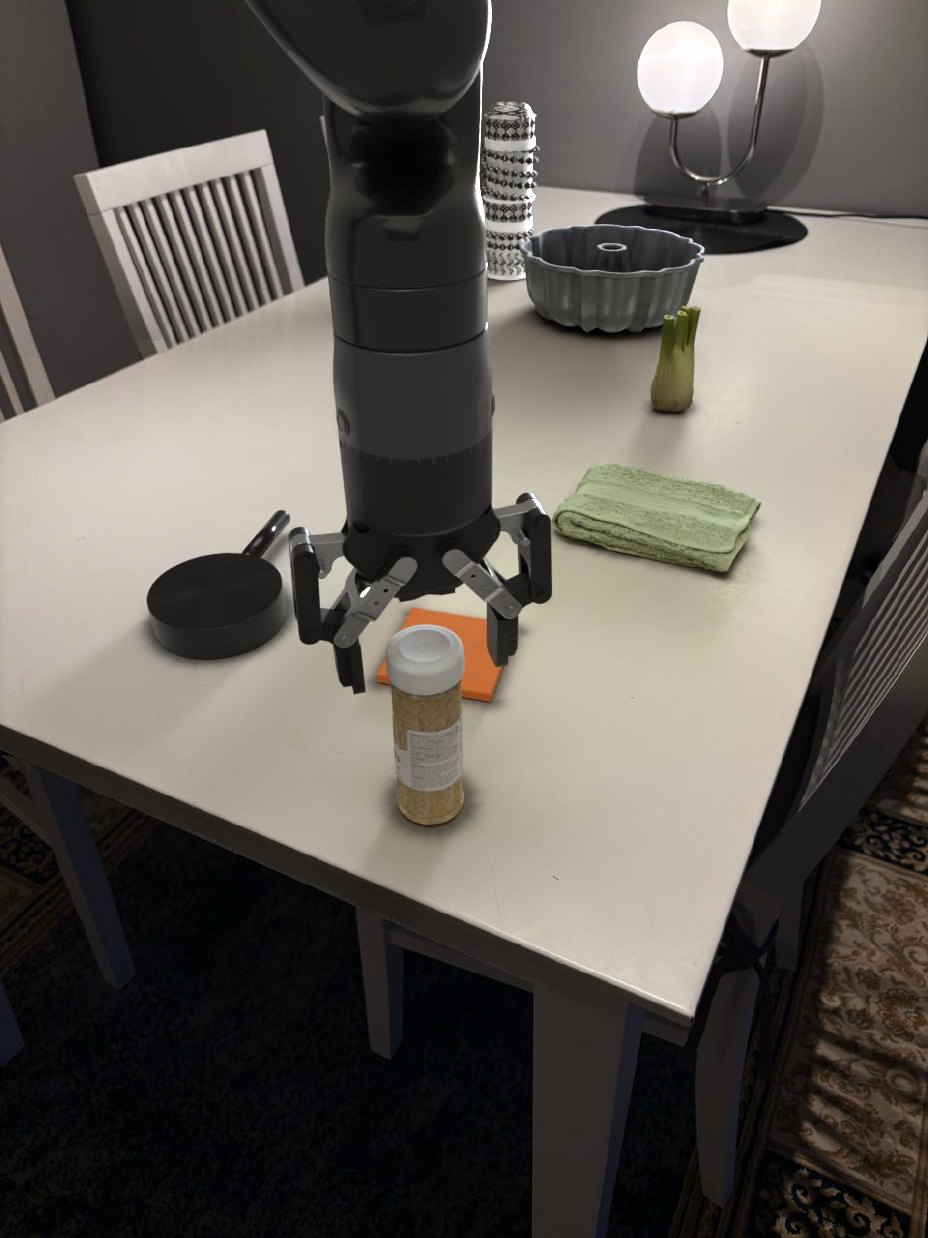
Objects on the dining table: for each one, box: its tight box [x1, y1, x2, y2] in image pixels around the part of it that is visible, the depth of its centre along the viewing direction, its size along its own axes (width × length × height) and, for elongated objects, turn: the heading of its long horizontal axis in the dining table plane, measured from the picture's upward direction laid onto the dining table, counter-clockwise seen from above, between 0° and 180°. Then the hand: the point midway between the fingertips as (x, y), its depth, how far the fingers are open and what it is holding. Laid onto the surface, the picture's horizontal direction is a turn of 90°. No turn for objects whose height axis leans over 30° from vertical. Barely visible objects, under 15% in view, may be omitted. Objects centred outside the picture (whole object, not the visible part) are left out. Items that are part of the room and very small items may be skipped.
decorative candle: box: [479, 101, 540, 281], centre depth 146 cm, size 9×9×25 cm
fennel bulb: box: [650, 305, 702, 413], centre depth 106 cm, size 6×5×12 cm
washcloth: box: [551, 462, 762, 573], centre depth 87 cm, size 13×18×3 cm
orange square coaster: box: [376, 607, 504, 702], centre depth 72 cm, size 9×9×1 cm
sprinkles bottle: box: [385, 624, 465, 826], centre depth 56 cm, size 5×5×13 cm
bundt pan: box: [520, 224, 705, 333], centre depth 133 cm, size 26×26×10 cm
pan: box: [146, 509, 291, 660], centre depth 79 cm, size 11×19×3 cm, turn 165°
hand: (427, 671), depth 54 cm, fingers open, 8 cm apart
